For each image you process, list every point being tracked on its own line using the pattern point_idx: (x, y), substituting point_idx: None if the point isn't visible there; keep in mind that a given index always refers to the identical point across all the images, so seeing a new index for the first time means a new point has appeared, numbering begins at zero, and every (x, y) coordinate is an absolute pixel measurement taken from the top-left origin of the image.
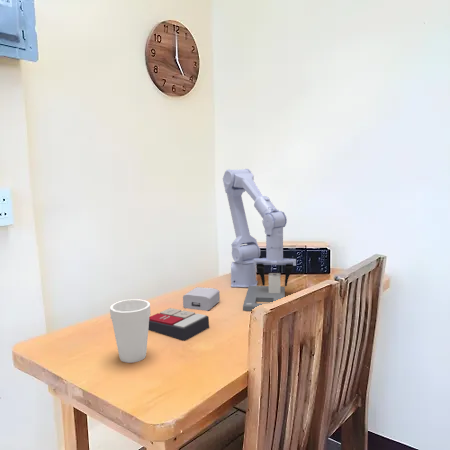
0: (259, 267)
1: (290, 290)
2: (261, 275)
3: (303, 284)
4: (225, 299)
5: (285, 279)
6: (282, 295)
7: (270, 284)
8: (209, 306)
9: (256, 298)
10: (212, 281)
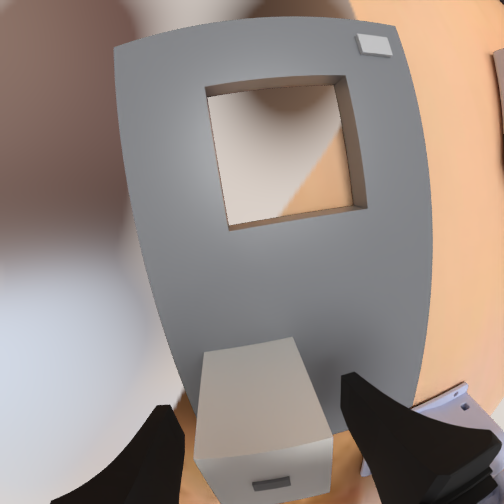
0: (482, 458)
1: (185, 443)
2: (408, 417)
3: None
4: (491, 210)
5: (149, 441)
6: (173, 309)
7: (291, 382)
8: (501, 50)
9: (362, 208)
10: (498, 397)
